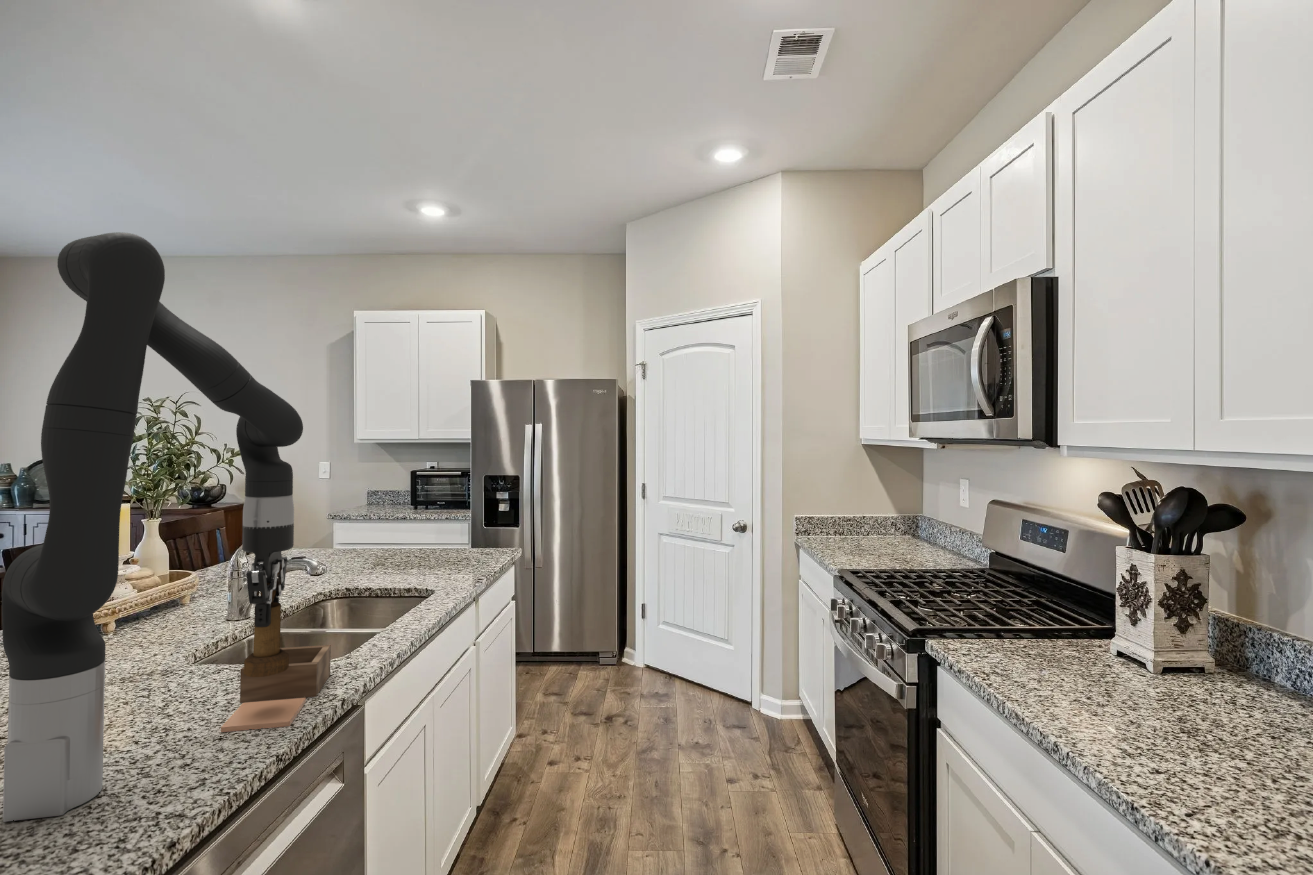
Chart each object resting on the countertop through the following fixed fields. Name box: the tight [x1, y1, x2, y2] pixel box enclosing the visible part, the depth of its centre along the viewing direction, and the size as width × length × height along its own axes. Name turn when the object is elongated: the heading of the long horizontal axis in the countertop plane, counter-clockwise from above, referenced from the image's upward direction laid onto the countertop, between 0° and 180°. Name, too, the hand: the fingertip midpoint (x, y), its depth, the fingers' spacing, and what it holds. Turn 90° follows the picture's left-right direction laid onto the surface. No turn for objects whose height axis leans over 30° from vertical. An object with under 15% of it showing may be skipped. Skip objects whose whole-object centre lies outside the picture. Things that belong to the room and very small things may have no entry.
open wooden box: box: [239, 644, 332, 704], centre depth 123 cm, size 11×12×6 cm
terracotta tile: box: [220, 697, 307, 733], centre depth 110 cm, size 10×10×1 cm
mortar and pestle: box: [243, 572, 289, 677], centre depth 110 cm, size 7×6×18 cm
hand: (267, 622), depth 110 cm, fingers closed on mortar and pestle, 4 cm apart
